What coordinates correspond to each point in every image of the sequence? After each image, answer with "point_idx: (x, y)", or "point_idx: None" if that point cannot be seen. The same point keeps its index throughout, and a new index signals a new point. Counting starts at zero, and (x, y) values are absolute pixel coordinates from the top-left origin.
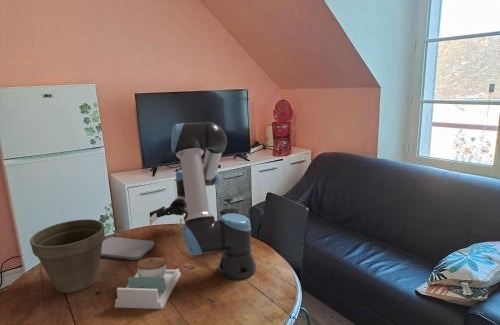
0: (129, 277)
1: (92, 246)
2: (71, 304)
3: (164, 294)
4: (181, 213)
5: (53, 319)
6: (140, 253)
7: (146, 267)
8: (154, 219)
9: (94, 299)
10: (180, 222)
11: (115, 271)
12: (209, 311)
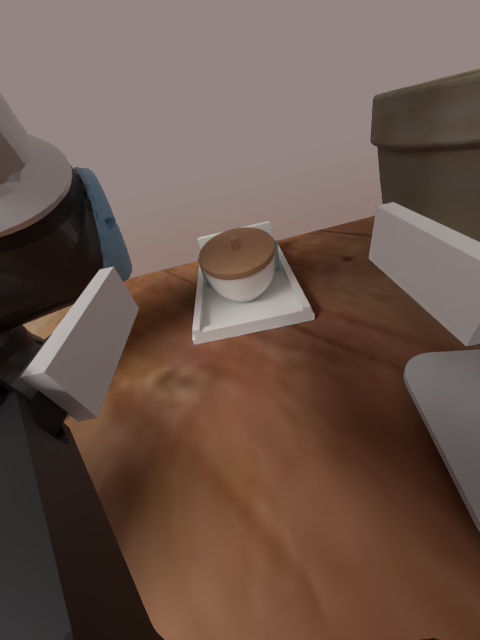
0: (275, 242)
1: (371, 135)
2: (362, 236)
3: (199, 270)
4: (109, 576)
5: (350, 222)
6: (421, 386)
7: (231, 230)
8: (417, 279)
9: (334, 250)
10: (129, 295)
11: (401, 307)
12: (128, 287)
